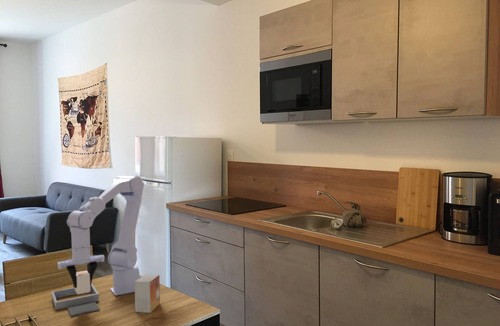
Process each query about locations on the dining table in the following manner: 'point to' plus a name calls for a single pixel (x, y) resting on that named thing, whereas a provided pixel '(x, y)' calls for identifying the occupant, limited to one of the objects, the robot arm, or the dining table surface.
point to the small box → (147, 293)
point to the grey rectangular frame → (76, 300)
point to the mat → (83, 309)
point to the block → (82, 282)
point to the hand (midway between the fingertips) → (82, 285)
